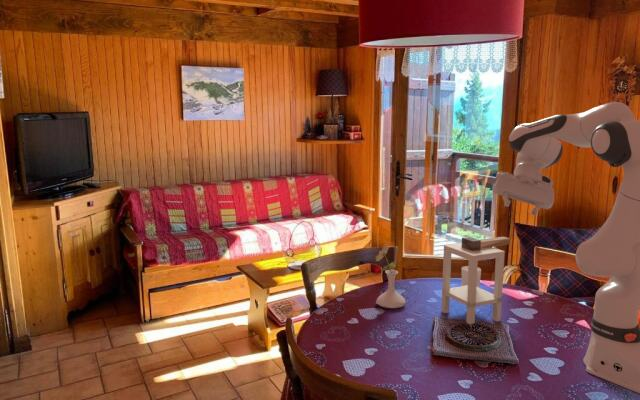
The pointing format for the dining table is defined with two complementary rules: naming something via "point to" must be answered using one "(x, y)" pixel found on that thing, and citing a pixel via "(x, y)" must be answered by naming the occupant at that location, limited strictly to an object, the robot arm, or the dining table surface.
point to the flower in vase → (390, 296)
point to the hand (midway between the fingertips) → (520, 209)
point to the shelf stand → (473, 281)
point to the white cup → (465, 276)
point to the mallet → (483, 242)
